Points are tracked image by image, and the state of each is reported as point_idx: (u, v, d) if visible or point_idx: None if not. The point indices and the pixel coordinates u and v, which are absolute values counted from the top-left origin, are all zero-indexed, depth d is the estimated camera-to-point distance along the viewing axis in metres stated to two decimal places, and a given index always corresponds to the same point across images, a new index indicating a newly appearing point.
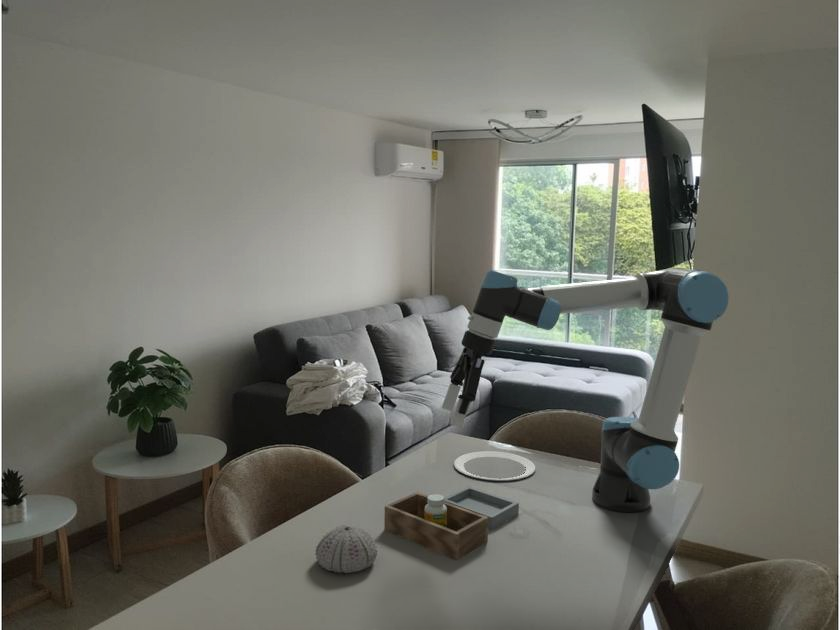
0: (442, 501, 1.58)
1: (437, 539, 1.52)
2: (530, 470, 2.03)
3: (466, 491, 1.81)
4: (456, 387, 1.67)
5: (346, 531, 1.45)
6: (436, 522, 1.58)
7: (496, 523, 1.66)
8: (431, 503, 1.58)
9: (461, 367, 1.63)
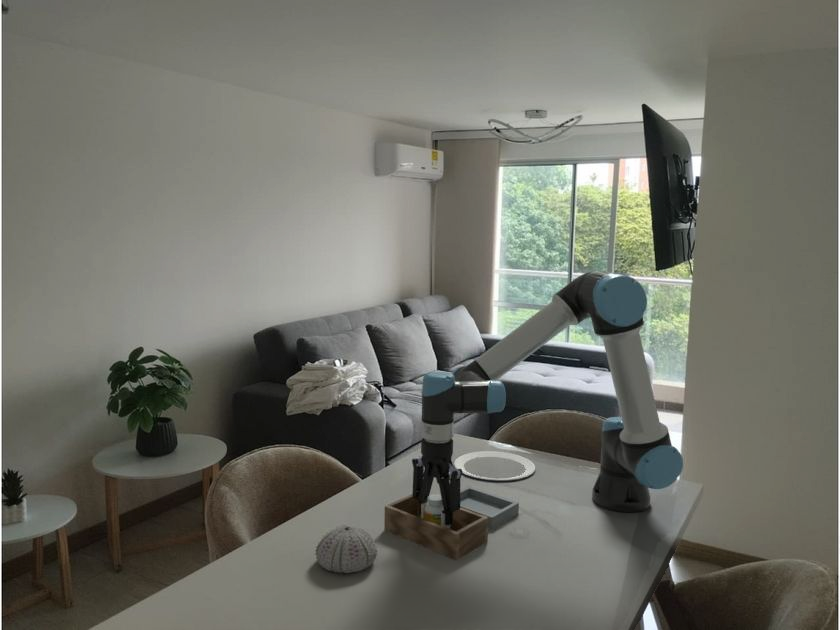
0: None
1: (437, 539, 1.52)
2: (530, 470, 2.03)
3: (466, 491, 1.81)
4: None
5: (346, 531, 1.45)
6: (436, 522, 1.58)
7: (496, 523, 1.66)
8: (431, 503, 1.58)
9: (428, 478, 1.59)
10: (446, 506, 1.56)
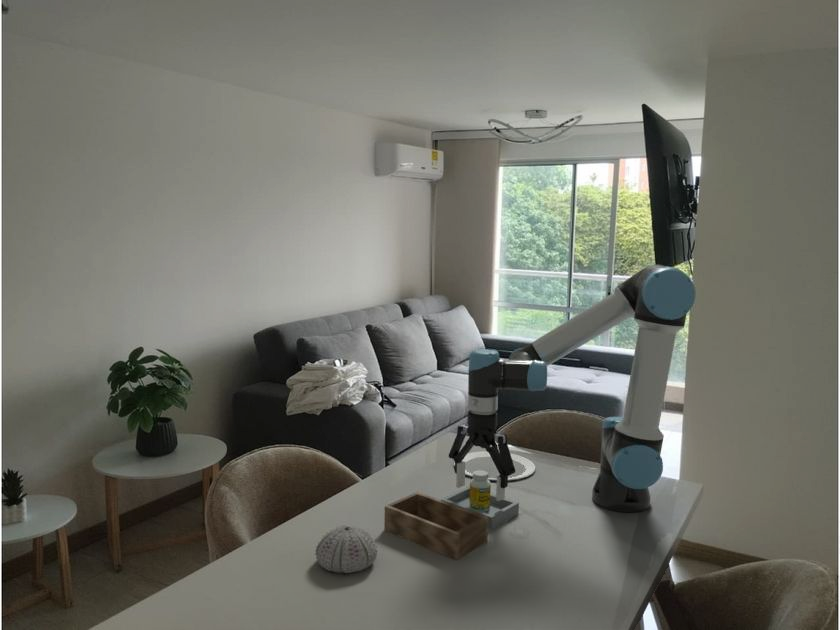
0: (486, 476, 1.72)
1: (437, 539, 1.52)
2: (530, 470, 2.03)
3: (466, 491, 1.81)
4: (463, 463, 1.77)
5: (346, 531, 1.45)
6: (481, 495, 1.71)
7: (496, 523, 1.66)
8: (476, 478, 1.72)
9: (469, 445, 1.73)
10: (501, 470, 1.67)
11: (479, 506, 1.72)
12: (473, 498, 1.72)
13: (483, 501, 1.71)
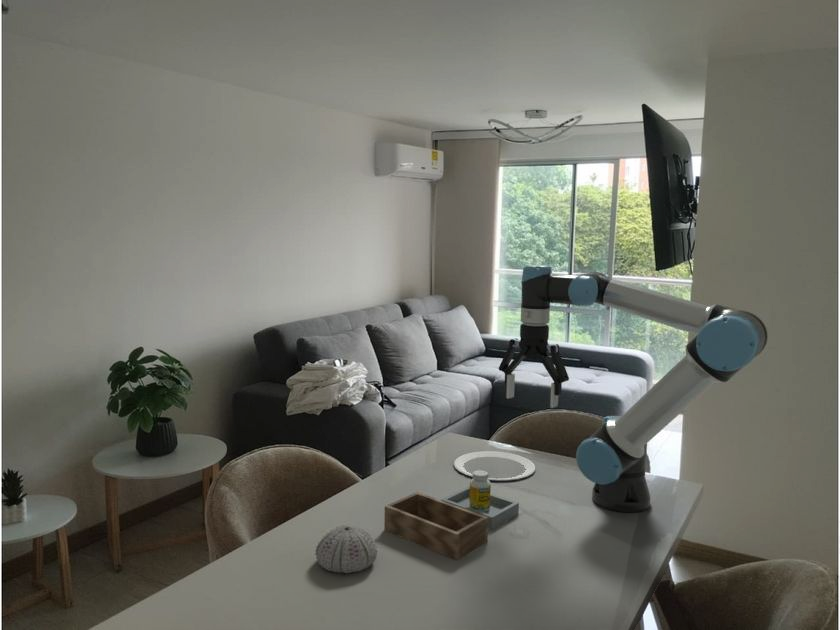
0: (486, 476, 1.72)
1: (437, 539, 1.52)
2: (530, 470, 2.03)
3: (466, 491, 1.81)
4: (512, 375, 1.85)
5: (346, 531, 1.45)
6: (481, 495, 1.71)
7: (496, 523, 1.66)
8: (476, 478, 1.71)
9: (521, 357, 1.81)
10: (555, 377, 1.74)
11: (479, 506, 1.72)
12: (473, 498, 1.72)
13: (483, 501, 1.71)
